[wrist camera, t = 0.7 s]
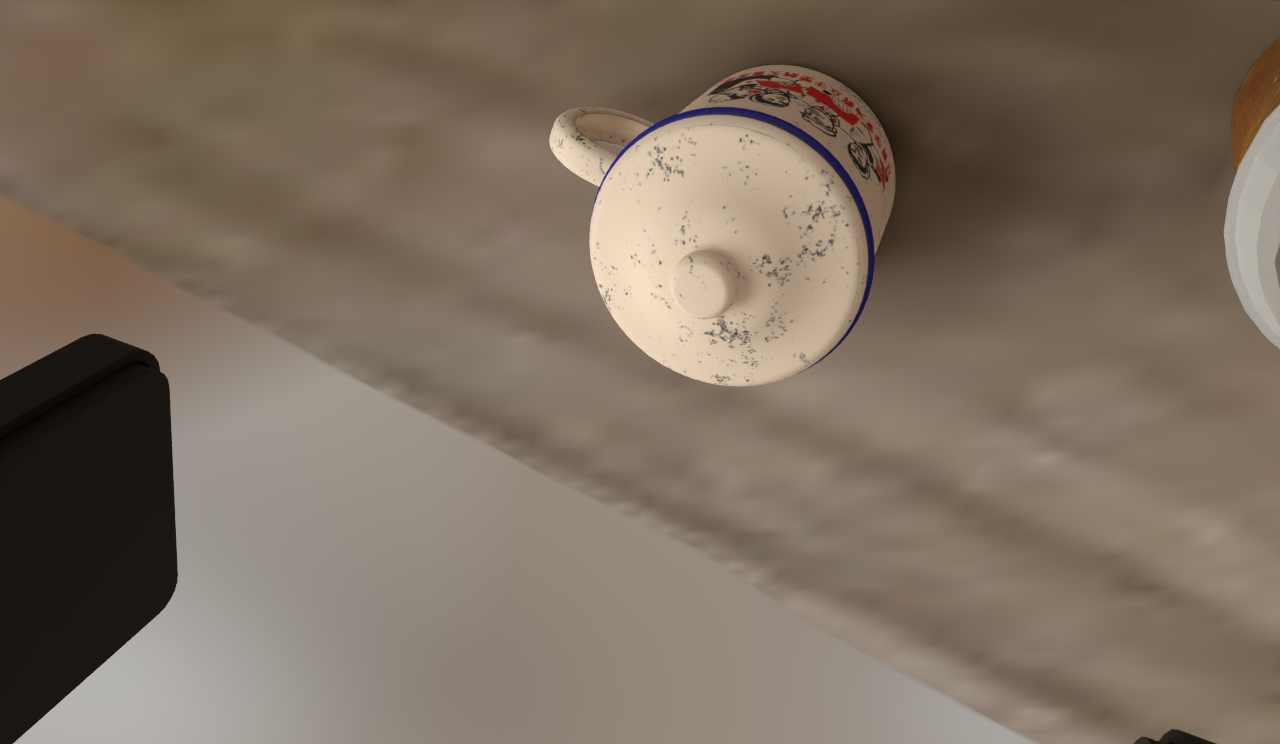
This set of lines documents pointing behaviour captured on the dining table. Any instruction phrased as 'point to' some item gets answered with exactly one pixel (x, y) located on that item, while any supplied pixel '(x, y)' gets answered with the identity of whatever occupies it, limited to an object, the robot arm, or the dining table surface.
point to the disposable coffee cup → (1257, 195)
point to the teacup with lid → (737, 221)
